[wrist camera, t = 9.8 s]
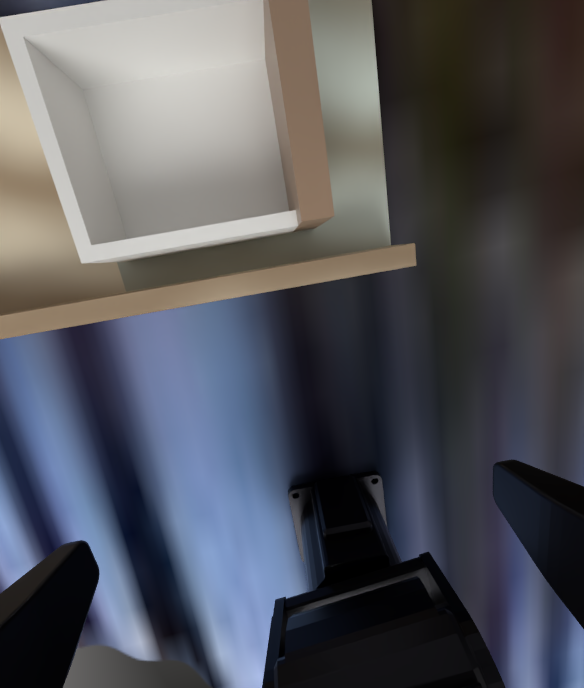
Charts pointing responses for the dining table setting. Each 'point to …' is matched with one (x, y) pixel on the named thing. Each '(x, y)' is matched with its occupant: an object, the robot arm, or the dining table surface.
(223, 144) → the drawer
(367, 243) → the beige shallow tray
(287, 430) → the dining table surface
